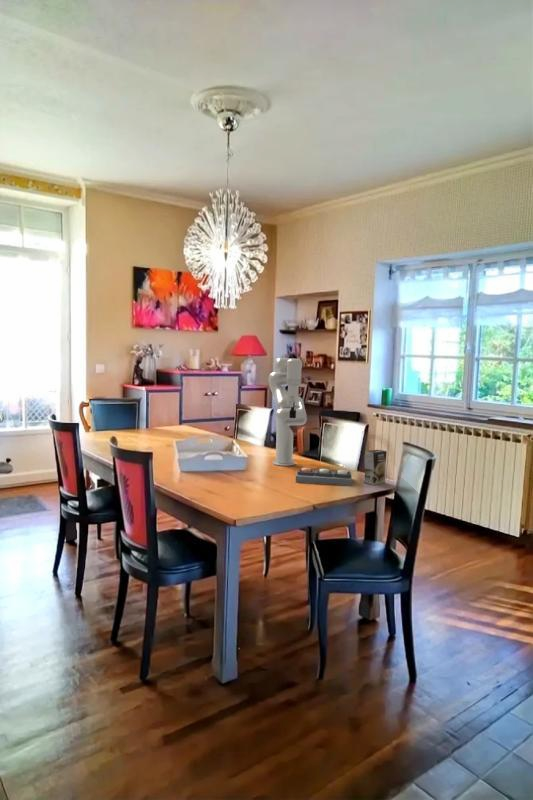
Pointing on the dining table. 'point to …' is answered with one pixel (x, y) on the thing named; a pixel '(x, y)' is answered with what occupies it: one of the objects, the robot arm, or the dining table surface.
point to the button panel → (324, 477)
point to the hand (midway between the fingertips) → (292, 417)
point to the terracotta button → (305, 469)
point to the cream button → (342, 472)
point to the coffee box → (375, 467)
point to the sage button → (323, 470)
